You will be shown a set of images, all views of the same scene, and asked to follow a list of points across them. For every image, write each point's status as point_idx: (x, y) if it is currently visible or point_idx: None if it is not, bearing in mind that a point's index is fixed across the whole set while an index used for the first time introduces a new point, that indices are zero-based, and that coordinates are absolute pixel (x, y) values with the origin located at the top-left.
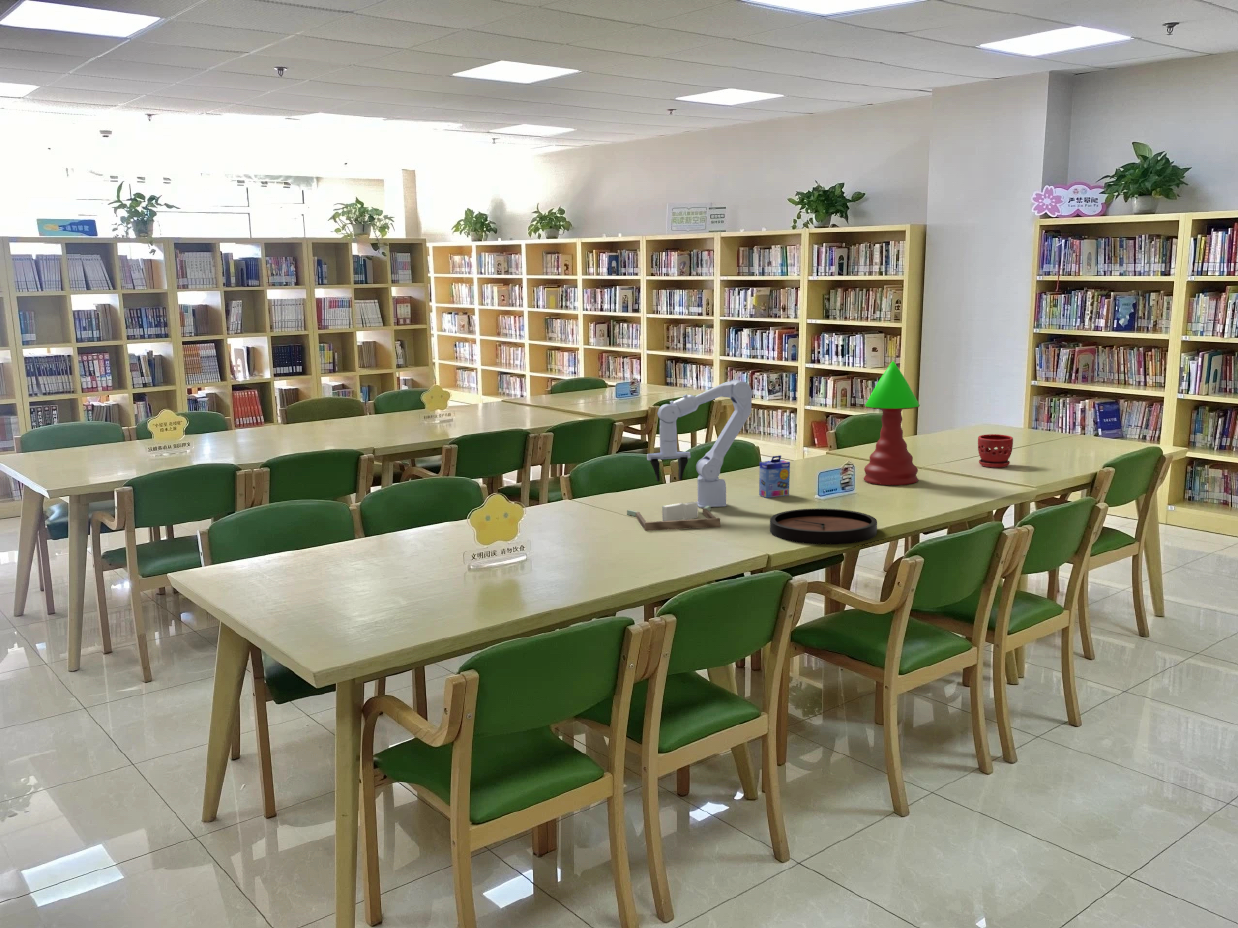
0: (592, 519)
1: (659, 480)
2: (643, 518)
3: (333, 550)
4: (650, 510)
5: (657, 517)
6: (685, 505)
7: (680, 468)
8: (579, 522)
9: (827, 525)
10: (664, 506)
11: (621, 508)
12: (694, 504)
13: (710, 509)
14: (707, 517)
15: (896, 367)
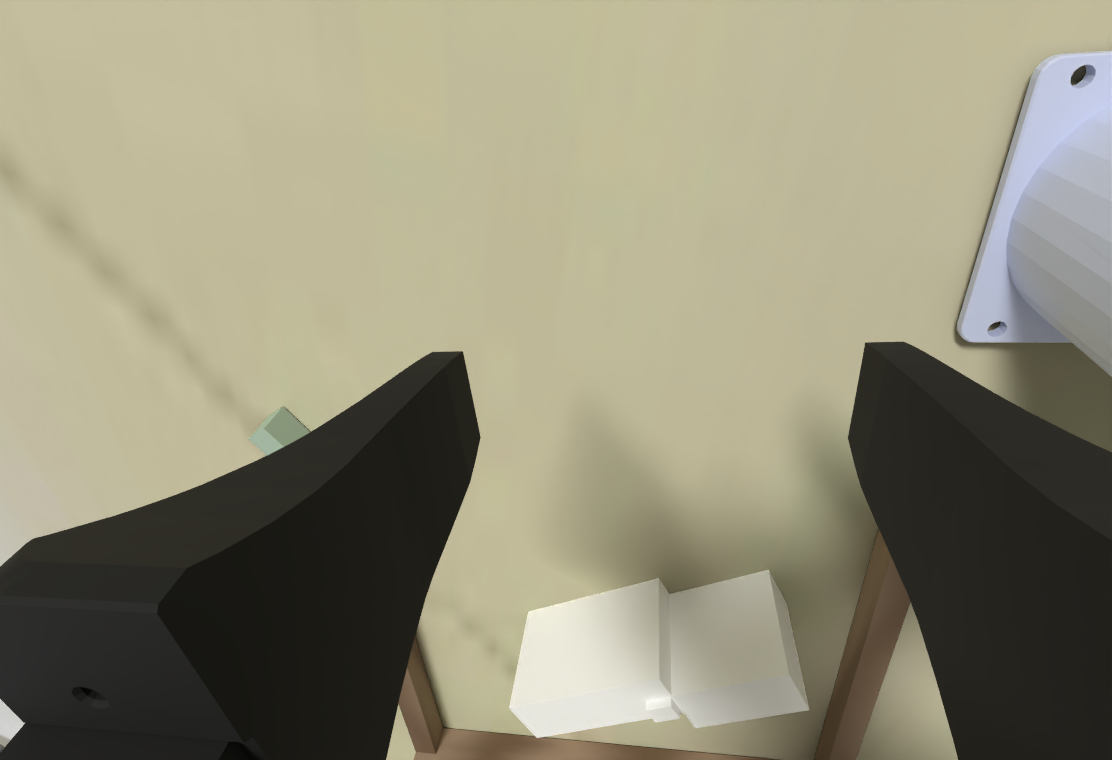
0: (66, 482)
1: (474, 452)
2: None
3: None
4: (450, 313)
5: (501, 535)
6: (692, 717)
7: (941, 630)
8: (21, 527)
9: None
10: (525, 721)
11: (156, 162)
12: (776, 706)
13: None
14: (851, 632)
15: None
